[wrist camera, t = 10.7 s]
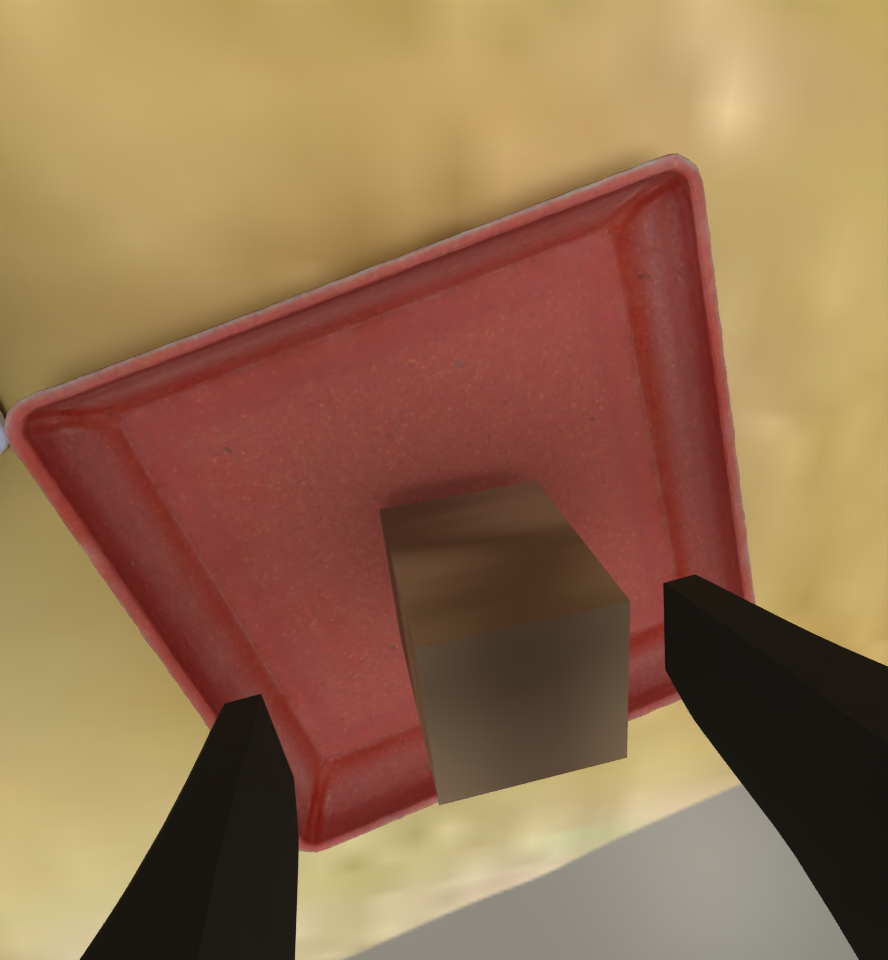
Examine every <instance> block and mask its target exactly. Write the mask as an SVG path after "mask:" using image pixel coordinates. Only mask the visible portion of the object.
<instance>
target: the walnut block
mask: <svg viewBox="0 0 888 960" xmlns="http://www.w3.org/2000/svg"><path fill="white" fill-rule="evenodd" d="M379 512H380V518H381V524H382V530H383V536H384V542H385V548H386V554H387V560H388V566H389V572H390V578H391V584H392V590H393V596H394V602H395V608H396V614H397V620H398V626H399V632H400V638H401V643H402V647H403V651H404V656H405V660H406V664H407V669H408V673H409V677H410V681H411V686H412V690H413V694H414V698H415V703H416V707H417V711H418V716H419V720H420V724H421V728H422V733H423V737H424V741H425V745H426V750H427V754H428V758H429V763H430V767H431V771H432V775H433V780H434V784H435V788H436V793H437V797H438V801H439V805H442V804H446V803H450V802H454V801H458V800H462V799H466V798H469V797H473V796H477V795H481V794H485V793H489V792H493V791H497V790H501V789H505V788H509V787H513V786H517V785H521V784H525V783H528V782H532V781H536V780H540V779H544V778H548V777H552V776H556V775H560V774H564V773H568V772H572V771H576V770H580V769H584V768H587V767H591V766H595V765H599V764H603V763H607V762H611V761H615V760H619V759H623V758H627V728H628V684H629V641H630V600H629V599H628V597H627V596H626V595H625V593H624V592H623V591H622V590H621V588H620V587H619V586H618V585H617V583H616V582H615V581H614V579H613V578H612V577H611V576H610V574H609V573H608V572H607V571H606V569H605V568H604V567H603V565H602V564H601V563H600V562H599V560H598V559H597V558H596V557H595V555H594V554H593V553H592V552H591V550H590V549H589V548H588V546H587V545H586V544H585V543H584V541H583V540H582V539H581V538H580V536H579V535H578V534H577V532H576V531H575V530H574V529H573V527H572V526H571V525H570V524H569V522H568V521H567V520H566V518H565V517H564V516H563V515H562V513H561V512H560V511H559V510H558V508H557V507H556V506H555V504H554V503H553V502H552V501H551V499H550V498H549V497H548V496H547V494H546V493H545V492H544V490H543V489H542V488H541V487H540V485H539V484H538V483H537V482H536V480H534V481H528V482H523V483H518V484H512V485H507V486H502V487H497V488H491V489H486V490H481V491H475V492H470V493H465V494H460V495H454V496H449V497H444V498H438V499H433V500H428V501H422V502H417V503H412V504H407V505H401V506H396V507H391V508H385V509H380V510H379Z"/></svg>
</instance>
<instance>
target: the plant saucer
mask: <svg viewBox="0 0 888 960" xmlns="http://www.w3.org/2000/svg"><path fill="white" fill-rule="evenodd" d="M4 430H5V434H6V437H7V439H8V441H9V443H10V445H11V447H12V449H13V451H14V452H15V453H16V455H17V456H18V457H19V459H20V460H21V461H22V463H23V464H24V465H25V467H26V468H27V470H28V471H29V472H30V474H31V475H32V477H33V478H34V480H35V481H36V482H37V484H38V485H39V486H40V488H41V489H42V491H43V492H44V494H45V496H46V497H47V499H48V500H49V502H50V503H51V504H52V506H53V507H54V508H55V510H56V511H57V513H58V514H59V516H60V517H61V519H62V520H63V522H64V523H65V525H66V526H67V528H68V529H69V531H70V532H71V534H72V535H73V536H74V538H75V539H76V540H77V542H78V543H79V544H80V546H81V547H82V548H83V550H84V551H85V552H86V554H87V555H88V556H89V558H90V560H91V561H92V563H93V564H94V566H95V568H96V569H97V571H98V572H99V574H100V575H101V576H102V577H103V579H104V580H105V581H106V583H107V584H108V586H109V587H110V589H111V590H112V592H113V593H114V595H115V596H116V598H117V599H118V600H119V602H120V603H121V604H122V606H123V607H124V608H125V610H126V611H127V613H128V614H129V616H130V617H131V619H132V620H133V621H134V623H135V624H136V625H137V627H138V628H139V630H140V632H141V634H142V636H143V637H144V639H145V640H146V641H147V643H148V644H149V645H150V647H151V648H152V649H153V650H154V651H155V652H156V654H157V655H158V656H159V658H160V659H161V660H162V662H163V663H164V665H165V666H166V668H167V669H168V671H169V672H170V674H171V676H172V677H173V678H174V679H175V680H176V682H177V683H178V684H179V686H180V687H181V689H182V691H183V692H184V694H185V695H186V696H187V697H188V699H189V700H190V702H191V703H192V705H193V706H194V708H195V709H196V710H197V711H198V713H199V714H200V715H201V717H202V718H203V720H204V722H205V724H206V725H207V727H208V728H209V729H210V730H211V729H212V727H213V724H214V722H215V720H216V718H217V716H218V714H219V712H220V710H221V708H222V707H223V705H224V704H225V703H229V702H232V701H236V700H239V699H243V698H247V697H250V696H254V695H258V694H262V697H263V699H264V702H265V705H266V707H267V710H268V712H269V715H270V717H271V720H272V722H273V725H274V728H275V730H276V733H277V735H278V738H279V740H280V743H281V745H282V748H283V751H284V753H285V756H286V758H287V761H288V763H289V766H290V768H291V771H292V774H293V776H294V783H295V795H296V806H297V820H298V834H299V851H304V852H319V851H322V850H326V849H328V848H331V847H333V846H335V845H338V844H340V843H343V842H345V841H348V840H350V839H352V838H355V837H357V836H360V835H362V834H364V833H367V832H369V831H371V830H374V829H376V828H378V827H381V826H384V825H386V824H388V823H390V822H392V821H395V820H397V819H400V818H403V817H404V816H406V815H408V814H411V813H414V812H416V811H419V810H421V809H423V808H426V807H428V806H430V805H433V804H435V803H437V802H439V801H438V797H437V793H436V788H435V784H434V780H433V775H432V771H431V767H430V763H429V758H428V754H427V750H426V745H425V741H424V737H423V733H422V728H421V724H420V720H419V716H418V711H417V707H416V703H415V698H414V694H413V690H412V686H411V681H410V677H409V673H408V669H407V664H406V660H405V656H404V651H403V647H402V643H401V638H400V632H399V626H398V620H397V614H396V608H395V602H394V596H393V590H392V584H391V578H390V572H389V566H388V560H387V554H386V548H385V542H384V536H383V530H382V524H381V518H380V512H379V510H380V509H385V508H391V507H396V506H401V505H407V504H412V503H417V502H422V501H428V500H433V499H438V498H444V497H449V496H454V495H460V494H465V493H470V492H475V491H481V490H486V489H491V488H497V487H502V486H507V485H512V484H518V483H523V482H528V481H534V480H536V482H537V483H538V484H539V485H540V487H541V488H542V489H543V490H544V492H545V493H546V494H547V496H548V497H549V498H550V499H551V501H552V502H553V503H554V504H555V506H556V507H557V508H558V510H559V511H560V512H561V513H562V515H563V516H564V517H565V518H566V520H567V521H568V522H569V524H570V525H571V526H572V527H573V529H574V530H575V531H576V532H577V534H578V535H579V536H580V538H581V539H582V540H583V541H584V543H585V544H586V545H587V546H588V548H589V549H590V550H591V552H592V553H593V554H594V555H595V557H596V558H597V559H598V560H599V562H600V563H601V564H602V565H603V567H604V568H605V569H606V571H607V572H608V573H609V574H610V576H611V577H612V578H613V579H614V581H615V582H616V583H617V585H618V586H619V587H620V588H621V590H622V591H623V592H624V593H625V595H626V596H627V597H628V599H629V600H630V641H629V684H628V721H630V720H632V719H635V718H638V717H641V716H643V715H646V714H648V713H650V712H652V711H653V710H656V709H658V708H660V707H664V706H667V705H669V704H672V703H674V702H676V701H678V700H680V699H681V697H680V695H679V694H678V692H677V690H676V688H675V686H674V685H673V683H672V681H671V679H670V678H669V676H668V674H667V672H666V670H665V643H664V595H663V583H665V582H669V581H672V580H676V579H680V578H683V577H687V576H691V575H694V574H695V575H697V576H700V577H702V578H704V579H706V580H708V581H710V582H712V583H714V584H716V585H718V586H720V587H722V588H724V589H726V590H728V591H730V592H732V593H734V594H735V595H737V596H739V597H741V598H743V599H745V600H747V601H749V602H751V603H753V604H755V596H754V591H753V583H752V574H751V565H750V558H749V553H748V544H747V531H746V525H745V516H744V511H743V507H742V495H741V488H740V474H739V467H738V462H737V457H736V450H735V432H734V426H733V417H732V412H731V407H730V397H729V389H728V383H727V371H726V366H725V359H724V352H723V341H722V328H721V323H720V317H719V311H718V300H717V292H716V286H715V273H714V265H713V260H712V252H711V237H710V231H709V226H708V220H707V211H706V199H705V193H704V187H703V181H702V179H701V176H700V173H699V170H698V168H697V166H696V165H695V164H694V163H692V162H691V161H690V160H688V159H687V158H685V157H683V156H681V155H679V154H678V153H675V154H668V155H665V156H662V157H659V158H657V159H654V160H651V161H648V162H645V163H643V164H641V165H638V166H636V167H634V168H631V169H628V170H626V171H623V172H620V173H617V174H615V175H612V176H609V177H607V178H604V179H602V180H599V181H597V182H594V183H592V184H589V185H586V186H583V187H581V188H578V189H575V190H573V191H570V192H568V193H565V194H563V195H560V196H558V197H555V198H552V199H550V200H547V201H544V202H542V203H539V204H536V205H534V206H531V207H528V208H526V209H523V210H520V211H518V212H515V213H512V214H510V215H507V216H504V217H502V218H499V219H496V220H494V221H491V222H488V223H486V224H483V225H480V226H478V227H475V228H473V229H470V230H467V231H465V232H462V233H460V234H457V235H454V236H452V237H449V238H447V239H444V240H441V241H439V242H436V243H434V244H431V245H429V246H426V247H423V248H420V249H417V250H414V251H411V252H409V253H407V254H404V255H402V256H400V257H397V258H394V259H391V260H388V261H386V262H383V263H380V264H378V265H375V266H373V267H370V268H368V269H365V270H363V271H360V272H358V273H355V274H353V275H350V276H347V277H344V278H341V279H338V280H335V281H333V282H330V283H328V284H326V285H323V286H321V287H318V288H316V289H313V290H310V291H307V292H304V293H301V294H298V295H296V296H293V297H291V298H289V299H286V300H284V301H281V302H279V303H276V304H274V305H271V306H268V307H266V308H263V309H260V310H257V311H254V312H252V313H249V314H246V315H244V316H241V317H238V318H236V319H233V320H231V321H228V322H225V323H223V324H220V325H217V326H215V327H212V328H209V329H207V330H204V331H201V332H199V333H196V334H194V335H191V336H188V337H186V338H183V339H180V340H177V341H175V342H172V343H169V344H167V345H164V346H162V347H159V348H157V349H154V350H151V351H148V352H145V353H142V354H140V355H137V356H134V357H131V358H128V359H126V360H123V361H121V362H118V363H115V364H113V365H110V366H108V367H105V368H102V369H100V370H97V371H94V372H92V373H89V374H86V375H84V376H81V377H78V378H76V379H73V380H70V381H68V382H65V383H62V384H59V385H56V386H53V387H50V388H47V389H45V390H42V391H39V392H36V393H34V394H32V395H30V396H27V397H25V398H23V399H21V400H19V401H17V402H16V403H15V404H14V405H13V406H12V407H11V408H10V409H9V411H8V413H7V415H6V419H5V423H4Z"/></svg>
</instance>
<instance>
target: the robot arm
mask: <svg viewBox="0 0 888 960" xmlns="http://www.w3.org/2000/svg"><path fill="white" fill-rule="evenodd" d="M4 423H5V419H4V417H3V415H2V413H1V411H0V453H2V452H3V451H4V450H5V449H6V448H7V447H8V446H9V445H10V443H9V441H8V439H7V437H6V434H5V430H4ZM663 595H664V643H665V670H666V672H667V674H668V676H669V678H670V679H671V681H672V683H673V685H674V686H675V688H676V690H677V692H678V694H679V695H680V697H681V699H682V701H683V702H684V704H685V706H686V707H687V709H688V711H689V712H690V714H691V716H692V717H693V719H694V720H695V722H696V723H697V724H698V726H699V727H700V729H701V730H702V731H703V733H704V734H705V735H706V737H707V738H708V739H709V741H710V742H711V743H712V745H713V746H714V747H715V749H716V750H717V751H718V753H719V754H720V755H721V757H722V758H723V759H724V761H725V762H726V763H727V765H728V766H729V767H730V769H731V770H732V771H733V773H734V774H735V775H736V776H737V778H738V779H739V780H740V782H741V783H742V784H743V786H744V787H745V788H746V790H747V791H748V792H749V794H750V795H751V796H752V798H753V799H754V800H755V801H756V803H757V804H758V805H759V807H760V808H761V809H762V811H763V812H764V813H765V815H766V816H767V817H768V819H769V820H770V821H771V822H772V824H773V825H774V826H775V828H776V829H777V830H778V832H779V833H780V835H781V836H782V838H783V839H784V840H785V842H786V843H787V845H788V846H789V848H790V849H791V850H792V852H793V853H794V855H795V856H796V858H797V859H798V861H799V862H800V864H801V866H802V867H803V869H804V871H805V872H806V874H807V875H808V877H809V879H810V880H811V882H812V883H813V885H814V887H815V888H816V890H817V891H818V893H819V894H820V896H821V897H822V899H823V901H824V903H825V904H826V906H827V907H828V909H829V911H830V912H831V914H832V915H833V917H834V919H835V920H836V922H837V924H838V925H839V927H840V929H841V930H842V932H843V934H844V935H845V937H846V939H847V940H848V942H849V944H850V945H851V947H852V949H853V951H854V952H855V954H856V956H857V957H858V959H859V960H888V666H886V665H883V664H881V663H878V662H876V661H874V660H871V659H869V658H867V657H864V656H862V655H860V654H857V653H855V652H853V651H851V650H848V649H846V648H844V647H841V646H839V645H837V644H835V643H833V642H830V641H828V640H826V639H824V638H822V637H820V636H817V635H815V634H813V633H811V632H809V631H807V630H805V629H803V628H801V627H799V626H797V625H795V624H793V623H791V622H789V621H786V620H784V619H782V618H780V617H778V616H777V615H775V614H773V613H771V612H769V611H767V610H765V609H763V608H761V607H759V606H757V605H755V604H753V603H751V602H749V601H747V600H745V599H743V598H741V597H739V596H737V595H735V594H734V593H732V592H730V591H728V590H726V589H724V588H722V587H720V586H718V585H716V584H714V583H712V582H710V581H708V580H706V579H704V578H702V577H700V576H697V575H695V574H694V575H691V576H687V577H683V578H680V579H676V580H672V581H669V582H665V583H663ZM298 852H299V834H298V820H297V806H296V795H295V783H294V776H293V774H292V771H291V768H290V766H289V763H288V761H287V758H286V756H285V753H284V751H283V748H282V745H281V743H280V740H279V738H278V735H277V733H276V730H275V728H274V725H273V722H272V720H271V717H270V715H269V712H268V710H267V707H266V705H265V702H264V699H263V697H262V694H258V695H254V696H250V697H247V698H243V699H239V700H236V701H232V702H229V703H225V704H224V705H223V707H222V708H221V710H220V712H219V714H218V716H217V718H216V720H215V722H214V724H213V727H212V729H211V731H210V733H209V735H208V737H207V740H206V742H205V744H204V746H203V748H202V750H201V752H200V754H199V756H198V758H197V760H196V762H195V764H194V767H193V769H192V771H191V773H190V775H189V777H188V779H187V781H186V783H185V785H184V786H183V788H182V790H181V792H180V794H179V796H178V798H177V800H176V802H175V804H174V806H173V808H172V809H171V811H170V813H169V815H168V817H167V819H166V821H165V823H164V825H163V826H162V828H161V830H160V832H159V834H158V835H157V837H156V839H155V841H154V842H153V844H152V846H151V847H150V849H149V851H148V853H147V854H146V856H145V858H144V859H143V861H142V863H141V865H140V866H139V868H138V870H137V871H136V873H135V875H134V877H133V878H132V880H131V882H130V883H129V885H128V887H127V888H126V890H125V892H124V893H123V895H122V896H121V898H120V899H119V901H118V903H117V904H116V906H115V907H114V909H113V911H112V912H111V914H110V915H109V917H108V918H107V920H106V921H105V923H104V924H103V926H102V927H101V929H100V930H99V932H98V933H97V935H96V936H95V938H94V939H93V941H92V942H91V944H90V945H89V947H88V948H87V950H86V951H85V953H84V954H83V955H82V957H81V958H80V960H295V940H296V913H297V884H298Z"/></svg>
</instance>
